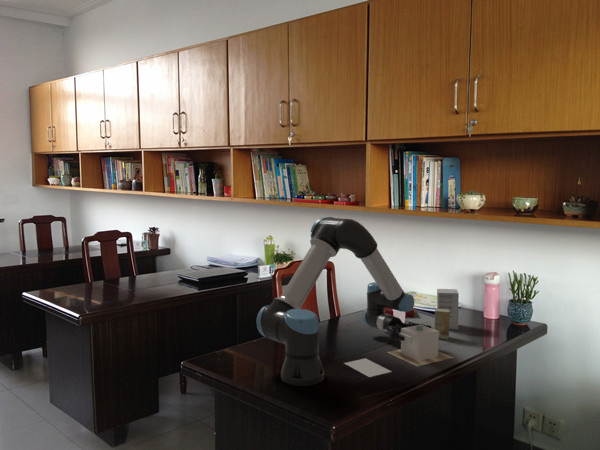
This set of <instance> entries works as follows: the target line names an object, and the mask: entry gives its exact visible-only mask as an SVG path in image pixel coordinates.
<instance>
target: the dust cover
mask: <svg viewBox="0 0 600 450" xmlns="http://www.w3.org/2000/svg"><path fill="white" fill-rule="evenodd" d="M423 325H424V324H422V325H416V326H411V327H406V328H401V333H403V334H405V335H408V336H410V337H412V344H408V343H406V342H403V341H401V340H400V349H401V354H404V355H406V356H408V357H410V358H413V359H415V360H417V361H420V360H424V359H428V358H433V357H437V356H438V351H439V339H438V331H437V330H434V328H432V327H431V328H429V327H426V326H423Z"/></svg>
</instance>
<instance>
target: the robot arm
mask: <svg viewBox="0 0 600 450" xmlns="http://www.w3.org/2000/svg"><path fill="white" fill-rule="evenodd" d="M310 232H311V233H310V240H309V242H310V248H309V250H307V253H306V254H305V256H304V257H303V259H302V260H301V263H300V264H299V266H298V267H297V269H296V271H295V272H294V274H293V275H292V277H291V279H290V280H289V283H287V285H286V287H285V289H284V290H283V291H282V293H281V294H280V296H279V297H275V298H274V299H273V301H272V302H271V303H270V305H269V304H267V305H265V306H263V307H261V309H260V310H259V312H258V313H257V316H256V328H257V330H258V332H259V334H260V335H262V336H263V337H264V338H266V339H268V340H271V341H273V342H274V341H275V342H277V343H280V344H283V345H285V356H284V357H285V359H284V360H283V364H282V367H281V370H280V371H281V372H280V380H281V381H282V383H285V384H286V383H287V384H286V385H290V386H295V387H308V386H309V387H310V386H315V385H318V384H320V383H322V382H323V381H324V379H325V371H324V370H325V369H324V367H323V364H322V361H321V359H320V352H319V351H320V324H319V317H318V315H317V313H315V312H314V311H311V310H309V309H306V308H305V309H304V308H303V309H302V306H303V305H304V302H306V299H307V297H308V296H309V294H310V292H311V291H312V289H313V288H314V285H315V284H316V283H317V281H318V279H319V277H320V276H321V274H322V272H323V270H324V269H325V267H326V266H327V264H328V262H329V260H330V259H331V258H333V257H336V256H337V254H338V252H339V251H340V250H341V249H343V250H348V251H350V252H352V253H353V255H354V256H355V258H357V259H360V260H361V262H362V263H363V265H364V266H365V268H366V270H367V271H368V272H369V274H370V276H371V277H372V279H373V280H374V282H369V283H368V284H367V290H366V297H367V298H366V305H367V306H366V309H364V311H363V313H362V315H361V316H362V317H361V318H362V320H363V321H362V322H363V323H364V324H365V325H367V326H369V327H370V328H374V329H376V330H379V331H381V332H384V334H386V335H387V336H388V337H389V340H391V341H393V340H394V339H395V342H397V343H398V342H399V341H400V342H401V341H403V342H406V343H408V344H412V337H410V336H408V335H405V334H403V333H401V328H406V327H411V326H416V325H423V326H426V327H429V328H432V325H429V324H422V323H414V322H411V321H409V322H408V323H406V322H405V323H402V321H401V320H400V319H399V318H397V317H395V316H392V315H389V314H386V313H385V308H389V309H393V310H397V311H400V312H410V311H411V310H412V308H415V307H414V306H415V298H414V296H413V295H412V294H409V293H407V292H406V293H405V291H404V290H403V288H402V287H401V284H400V283H399V282H398V280H397V278H396V276H395V275H394V274H393V272H392V271H391V269H390V267H389V265H388V264H387V262H386V260H385V259H384V257H383V255H382V254H381V253H380V251H379V249H378V243H377V240H375V238H374V236H373V235H372V234H371V233H370V231H369V230H368V229H367V228H366V227H365V226H364V225H363V224H362V223H360V222H359V221H357V220H355V219H352V218H339V217H338V218H337V217H332V216H328V217H327V216H326V217H321V218H318V219H316V220H315V221H314V223H313V224H312V226H311V229H310ZM438 338H439V331H438Z"/></svg>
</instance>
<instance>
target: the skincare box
mask: <svg viewBox="0 0 600 450" xmlns="http://www.w3.org/2000/svg"><path fill="white" fill-rule="evenodd" d="M449 318H450V310H448V309H437V308H434V323H433V324H434V327H433V329H434V330H437V331H439V338H438V340H439V339H440V340H449V339H450V329H449Z"/></svg>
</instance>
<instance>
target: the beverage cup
mask: <svg viewBox="0 0 600 450" xmlns="http://www.w3.org/2000/svg"><path fill="white" fill-rule="evenodd" d="M393 315H394V316H395V317H397V318H399V319H400V320H401V321H402V323H406V322H405V321H406V317H405V312H400V311H397V310H393Z"/></svg>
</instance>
